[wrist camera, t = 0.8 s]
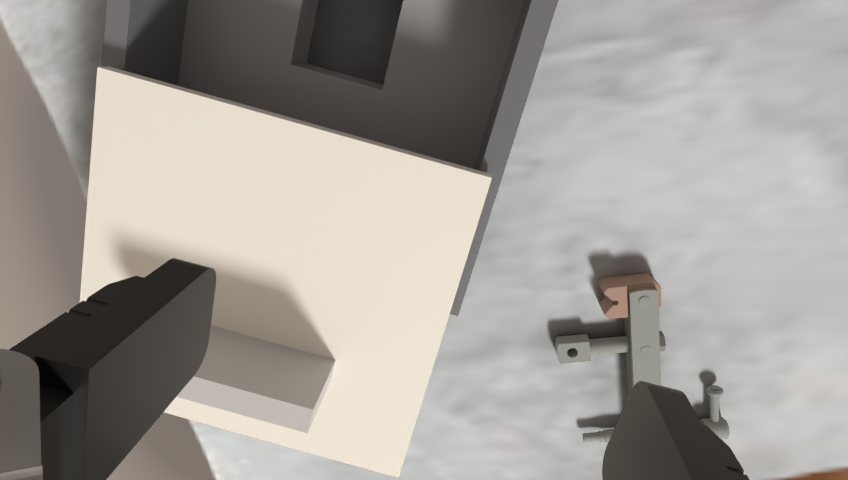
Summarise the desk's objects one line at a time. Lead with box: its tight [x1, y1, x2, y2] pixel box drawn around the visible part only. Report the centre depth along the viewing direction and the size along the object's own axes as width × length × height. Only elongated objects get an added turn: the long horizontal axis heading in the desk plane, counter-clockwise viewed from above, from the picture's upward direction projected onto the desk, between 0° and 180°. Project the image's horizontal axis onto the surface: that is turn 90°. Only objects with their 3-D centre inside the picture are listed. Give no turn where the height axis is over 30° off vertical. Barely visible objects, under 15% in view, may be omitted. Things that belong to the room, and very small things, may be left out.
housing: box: [102, 0, 558, 316], centre depth 29 cm, size 16×18×8 cm
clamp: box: [555, 273, 729, 442], centre depth 36 cm, size 15×2×10 cm
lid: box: [80, 66, 492, 478], centre depth 25 cm, size 16×17×5 cm
